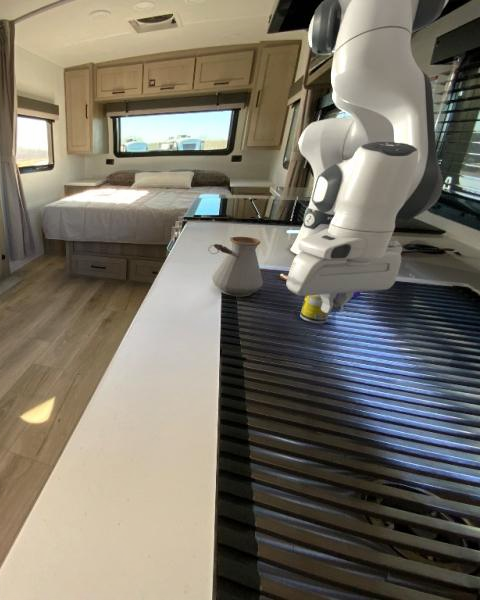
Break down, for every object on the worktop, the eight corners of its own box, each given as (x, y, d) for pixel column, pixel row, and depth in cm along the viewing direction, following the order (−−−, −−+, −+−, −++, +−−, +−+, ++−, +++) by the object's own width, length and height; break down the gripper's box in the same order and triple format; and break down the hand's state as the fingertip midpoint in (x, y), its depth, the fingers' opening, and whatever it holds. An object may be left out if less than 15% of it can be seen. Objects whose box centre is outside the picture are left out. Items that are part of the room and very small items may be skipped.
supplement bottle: (305, 311, 72) (316, 275, 69) (330, 319, 69) (343, 281, 65) (295, 317, 69) (306, 280, 66) (321, 326, 66) (333, 287, 63)
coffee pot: (223, 277, 90) (234, 222, 83) (267, 290, 82) (283, 230, 75) (179, 302, 77) (188, 239, 70) (227, 319, 69) (242, 251, 63)
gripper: (387, 235, 63) (361, 301, 69) (291, 240, 60) (273, 308, 66) (423, 244, 58) (391, 314, 63) (318, 250, 55) (296, 323, 61)
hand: (330, 311), depth 65 cm, fingers closed, pressing on supplement bottle
